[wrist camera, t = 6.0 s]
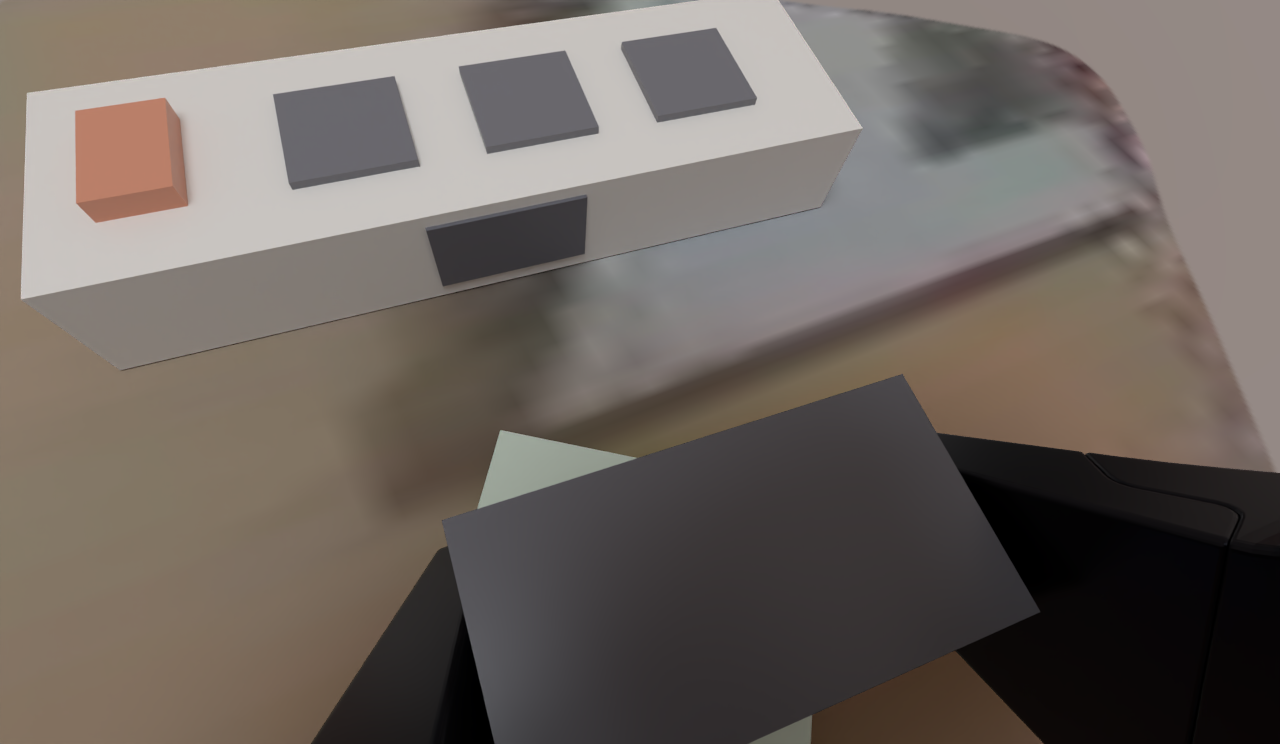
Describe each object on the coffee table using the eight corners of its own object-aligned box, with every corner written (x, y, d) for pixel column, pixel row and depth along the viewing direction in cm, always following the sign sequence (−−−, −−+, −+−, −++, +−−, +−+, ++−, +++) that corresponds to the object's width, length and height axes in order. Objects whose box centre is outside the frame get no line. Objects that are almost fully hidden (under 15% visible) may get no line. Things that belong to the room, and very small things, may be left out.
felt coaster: (817, 499, 18) (822, 495, 18) (796, 899, 14) (803, 904, 14) (501, 435, 18) (500, 430, 18) (389, 820, 14) (384, 824, 14)
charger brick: (759, 665, 15) (1048, 625, 6) (550, 753, 14) (523, 866, 5) (714, 551, 16) (902, 374, 7) (516, 623, 15) (441, 520, 6)
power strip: (745, 78, 25) (778, -30, 21) (821, 209, 23) (874, 112, 19) (112, 188, 20) (6, 69, 16) (120, 373, 18) (-5, 285, 14)
